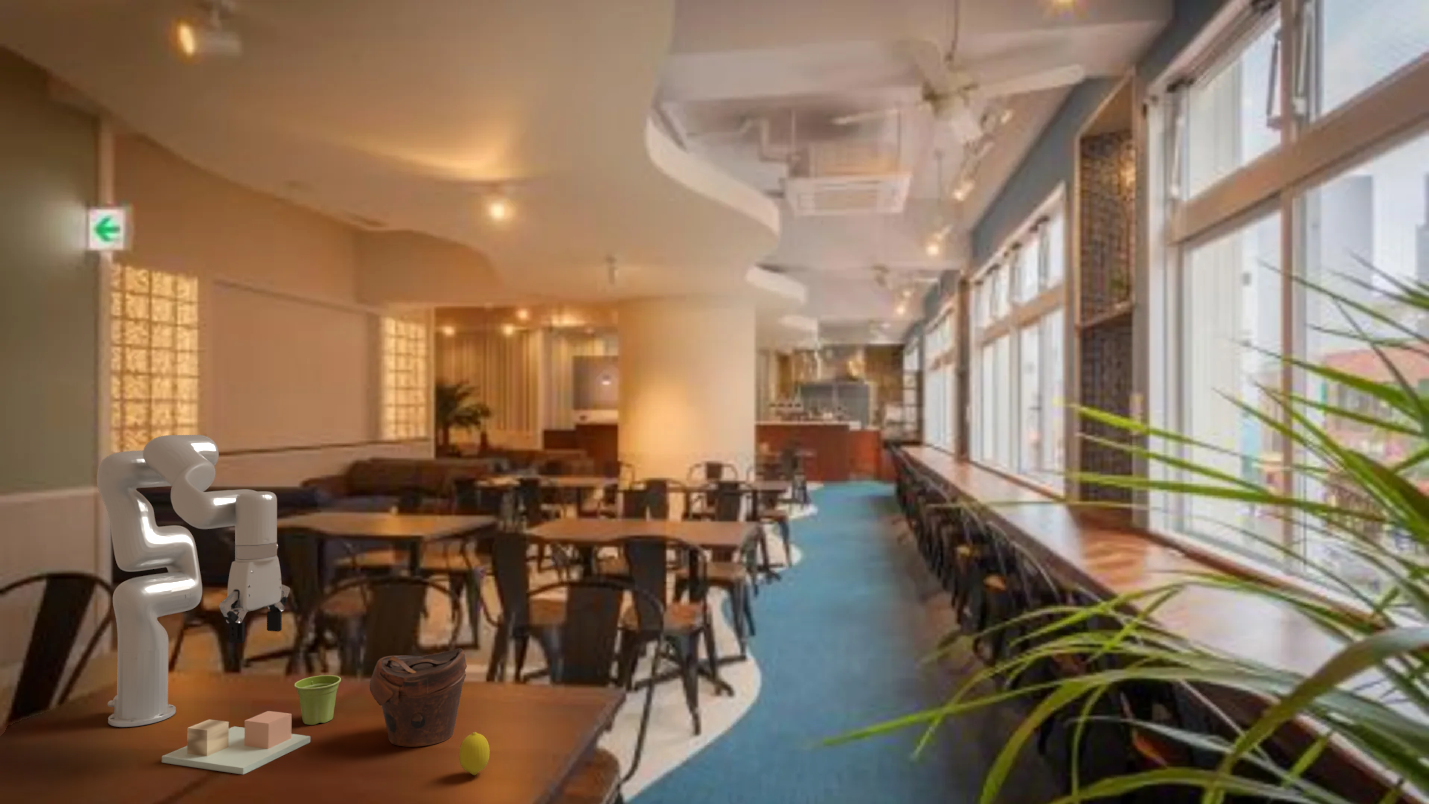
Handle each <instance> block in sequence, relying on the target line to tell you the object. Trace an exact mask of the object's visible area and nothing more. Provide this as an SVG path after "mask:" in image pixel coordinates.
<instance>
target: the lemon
mask: <svg viewBox="0 0 1429 804" xmlns="http://www.w3.org/2000/svg"><path fill="white" fill-rule="evenodd" d="M459 747H460V748H459V752H458V754H459V755H458V758H459V759H458V760H459V764H460V766H461V768H462V769H463V770H464V771H465V772H467V773H470V774H471V776H476V775H477V774H478V773H479V772H481V771H483V770H484V769H485V768H486V766H487V765H488V764H489V759H490V753H491V751H490V745H489V742H488V740H487V738H486V737H485V736H484V735H483V734H481V733H478V732H476V731H474V732H471V734H468V735H467V736H466V737H465V738H464V739H463V740H462V742H461V745H460V746H459Z"/></svg>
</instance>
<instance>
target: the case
mask: <svg viewBox="0 0 1429 804" xmlns="http://www.w3.org/2000/svg"><path fill="white" fill-rule="evenodd" d="M467 667H468V666H467V661H466V655H465V651H464V650H463V648H460V647H459V648H456V649H453V650H448V651H443V652H439V653H435V654H428V655H423V656H421V655H406V654H405V655H402V654H401V655H400V654H399V655H387V656H382V657H381V658H379V659H378V660H377V662H376V664H375V666H374V669H373V671H372V675H371V677H370V681H369V691H370V694H371V696H372V697H373V700H375V701H376V703H377V704H378V706H381V709H382V713H383V718H384V722H385V723H384V724H385V727H386V732H387V735H388V741H389V742H390V743H391V744H392V745H395V746H399V747H406V748H407V747H408V748H415V747H416V748H417V747H426V746H431V745H436V744H440V743H442V742H445V741H447V740H449V739H450V738H451V737H452V736H453V734H454V731H455V728H456V727H455V726H456V721H457V716H458V711H459V705H460V701H461V697H462V696H461V694H462V690H463V686H464V685H463V684H464V682H465V679H466V676H467V672H466V670H467Z"/></svg>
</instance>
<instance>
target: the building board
mask: <svg viewBox="0 0 1429 804" xmlns="http://www.w3.org/2000/svg"><path fill="white" fill-rule="evenodd" d="M244 738H245V727H241V726H240V727H239V726H235V725H233V726H231V727H229V738H228V747H227V748H225V749H223V750H220V751H218V752H216V753H213V754H211V755H209V756H201V755H194V754H187V745H186V746H184V747H181V748H178V749H176V750H173V751H172V752H169V753H166V754H164V755H162V756H161V763H164V764H169V765H170V764H171V765H176V766H183V767H190V768H198V769H204V770H209V771H218V772H224V773H228V774H231V773H232V774H238V775H245V774H247V773H249V772H252V771H254V770H256V769H258V768H260V767H262V766H264V765H266V764H269V763H270V762H272V761H274V760H276V759H279V758H281V757H282V756H284V755H287V754H288V753H289V754H290V752H293V751H295V750H297V749H299V748H301V747H303V746H305V745H308V744H309V743H311V736H310V735H304V734H297V733H291V739H288V740H286V741H284V742H282V743H280V744H278V745H275V746H273V747H271V748H269V749H266V748H259V747H251V746H244Z"/></svg>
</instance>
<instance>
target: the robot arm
mask: <svg viewBox="0 0 1429 804" xmlns="http://www.w3.org/2000/svg"><path fill="white" fill-rule="evenodd" d="M219 454H220V453H219V447H218V445H217V443H216V442H215V441H214V439H212V438H211V437H209V436H206V435H203V434H168V435H160V436H158V437H155V438H153V439H151V440H149V441H148V442H147V443H146V444H145V445H144V448H143V450H129V451H121V452H114V453H112V454H109V455H107V456H105V457H104V458H103V459H102V461H101V462H100V463H99V465H98V468H97V473H96V483H97V489H98V491H99V494H100V498H101V500H102V502H103V504H104V506H105V509H106V512H107V514H108V518H109V528H110V533H111V540H112V547H113V548H112V549H113V554H114V558H115V561H116V564H117V567H118V568H119V569H120V570H122V571H123V572H141V571H149V570H153V569H154V570H157V569H161V568H166V569H167V572H163V573H156V574H154V573H153V574H148V575H143V576H136V577H132V578H129V579H127V580H125V581H123V582H121V583H120V584H118V586H117V587H116V588H115V590H114V591H113V595H112V606H113V610H114V616H115V621H116V631H117V665H116V666H117V671H116V672H117V674H116V676H117V679H116V695H115V696H114V697H113V700H112V699H111V700H109V701H108V702H107V707H109V708H114V709H113V710H114V711H113V713H112V714H110V715H109V716H108V718H107V719H108V720H107V723H108V725H110V726H112V727H117V728H118V727H119V728H128V727H129V728H131V727H140V726H146V725H151V724H155V723H159V722H161V721H164V720H167V719H168V718H169V719H170V718H171V717H172V716H174V715H175V714H176V713H177V711H176V710H177V708H176V706H175V705H173V704H170V703H169V635H168V632H167V630H166V629H165V627H164V626H163V625H162V624H161V623H160V621H158V618H159V617H164V616H167V615H168V616H169V615H173V614H178V613H183V612H186V611H191V610H193V609H194V608H196V607H197V606H198V605H199V604H200V603H201V601H202V596H203V583H202V575H201V571H200V563H199V558H198V550H197V546H196V545H197V544H196V542H195V538H194V536H193V535H192V533H191V532H190V530H189V529H188V528H187V527H185V526H181V525H174V524H173V525H165V526H164V525H163V526H158V525H157V522H156V518H155V517H156V516H155V512H154V507H153V506H152V504H151V503H150V501H149V500H148V499H147V498H146V497H145V496H144V495H143V494H142V493H140V491H138V490H137V489H141V488H157V487H158V488H159V487H171V488H170V489H171V490H170V503H171V505H172V508H173V510H174V512H175V513H176V514H177V515H178V517H180V518H181V519H182V520H183V521H184V522H186V523H187V524H189V525H190V526H192V527H194V528H196V529H200V530H208V529H209V530H210V529H218V528H226V527H234V528H235V529H234V530H235V531H234V533H235V535H234V536H235V538H234V539H235V541H234V543H235V544H234V546H235V547H234V550H235V551H234V553H235V554H234V556H235V557H234V558H235V559H234V561H232V562H231V565H230V569H229V574H228V575H229V576H228V581H227V595H226V597H225V598H224V599H223V600H222V601H221V602H219V605H218V607H219V610H220V612H221V613H222V617H223V619H225V621H226V623H227V624H229V625H228V630H229V631H228V632H229V633H228V638H229V639H228V640H229V641H228V642H229V643H233V644H242V643H243V644H244V643H245V641H246V639H245V638H246V635H245V634H246V633H245V632H246V631H245V630H246V627H245V626H246V625H245V623H246V622H245V621H244V622H243V620H244V618H245V617H246V614H247V613H248V612H251V611H256V610H261V609H263V608H268V611H266V630H267V631H268V632H281V631H282V625H283V624H282V622H283V621H282V618H283V617H282V612H284V610H285V605H286V604H287V602H288V597H289V593H290V591H291V588H290V587H289V586H287V585H285V584H282V573H281V566H280V561H279V557H278V548H279V545H278V497H277V495H276V494H275V493H274V492H271V491H267V490H265V491H261V490H260V491H256V490H253V489H242V488H241V489H226V490H213V491H207V489H209V487H210V486H212V484H213V483H214V481H215V479H216V468H215V466H216V464H217V463H218V461H219V456H220V455H219ZM237 614H238V615H237Z"/></svg>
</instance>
